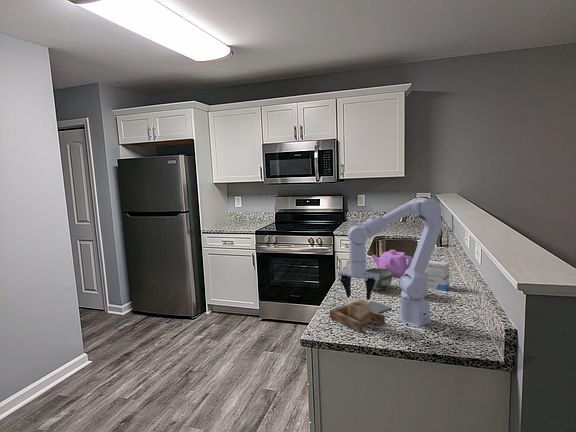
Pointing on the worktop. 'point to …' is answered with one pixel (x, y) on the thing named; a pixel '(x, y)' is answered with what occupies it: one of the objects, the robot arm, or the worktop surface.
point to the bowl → (381, 278)
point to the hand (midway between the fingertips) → (358, 297)
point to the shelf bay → (356, 325)
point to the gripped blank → (360, 310)
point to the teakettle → (393, 262)
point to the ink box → (438, 275)
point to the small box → (426, 284)
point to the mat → (378, 307)
